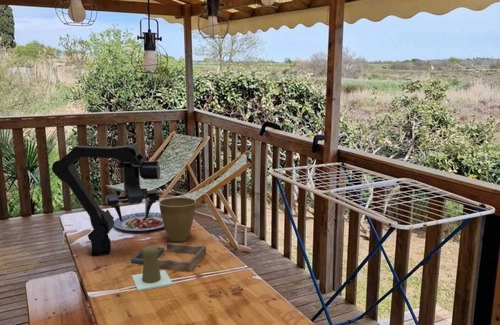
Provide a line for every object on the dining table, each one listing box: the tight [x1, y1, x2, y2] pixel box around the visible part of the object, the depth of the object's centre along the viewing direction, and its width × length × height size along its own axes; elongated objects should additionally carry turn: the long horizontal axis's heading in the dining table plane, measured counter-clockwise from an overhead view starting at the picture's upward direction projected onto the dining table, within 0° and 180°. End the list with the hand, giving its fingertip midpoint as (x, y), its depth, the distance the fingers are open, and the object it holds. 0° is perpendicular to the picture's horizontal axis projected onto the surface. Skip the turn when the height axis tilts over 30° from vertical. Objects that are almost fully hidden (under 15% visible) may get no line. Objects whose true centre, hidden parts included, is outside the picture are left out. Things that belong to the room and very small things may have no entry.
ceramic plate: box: [114, 211, 165, 232], centre depth 201 cm, size 26×26×3 cm
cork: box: [141, 245, 161, 283], centre depth 144 cm, size 6×6×11 cm
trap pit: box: [130, 246, 165, 265], centre depth 164 cm, size 7×13×2 cm, turn 167°
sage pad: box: [131, 269, 173, 292], centre depth 145 cm, size 11×11×1 cm
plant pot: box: [158, 196, 197, 243], centre depth 182 cm, size 15×15×16 cm
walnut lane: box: [158, 242, 207, 273], centre depth 162 cm, size 15×16×3 cm
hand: (133, 219), depth 166 cm, fingers open, 9 cm apart
